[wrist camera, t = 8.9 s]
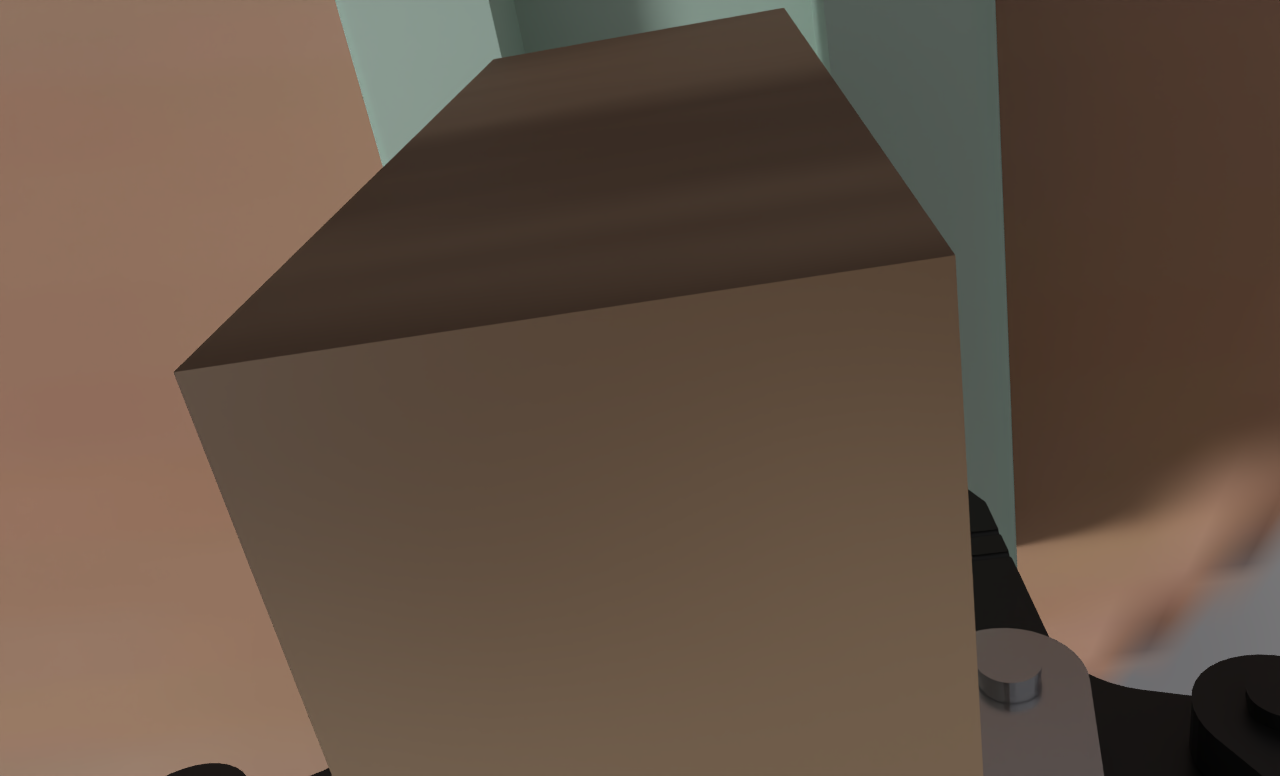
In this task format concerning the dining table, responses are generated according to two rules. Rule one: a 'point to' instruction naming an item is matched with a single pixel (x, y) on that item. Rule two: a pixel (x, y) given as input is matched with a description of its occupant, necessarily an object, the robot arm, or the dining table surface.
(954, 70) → the picture ledge
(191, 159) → the dining table surface
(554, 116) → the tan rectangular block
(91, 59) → the dining table surface
